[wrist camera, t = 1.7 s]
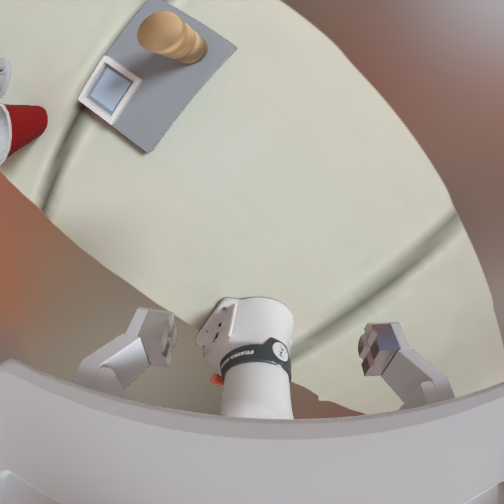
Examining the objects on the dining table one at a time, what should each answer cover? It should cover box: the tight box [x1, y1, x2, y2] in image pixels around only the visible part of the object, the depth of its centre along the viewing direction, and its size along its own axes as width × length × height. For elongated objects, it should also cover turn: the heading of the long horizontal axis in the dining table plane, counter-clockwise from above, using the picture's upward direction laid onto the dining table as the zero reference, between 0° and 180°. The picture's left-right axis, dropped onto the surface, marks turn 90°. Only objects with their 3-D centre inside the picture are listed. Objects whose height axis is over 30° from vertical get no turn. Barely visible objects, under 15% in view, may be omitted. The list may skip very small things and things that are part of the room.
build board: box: [78, 0, 237, 153], centre depth 31 cm, size 20×16×3 cm
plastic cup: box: [0, 103, 48, 165], centre depth 30 cm, size 11×11×12 cm
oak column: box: [137, 11, 208, 64], centre depth 24 cm, size 4×4×13 cm
